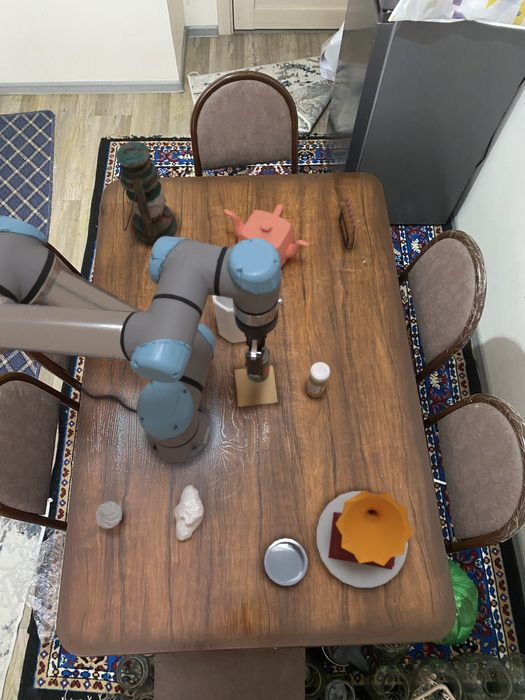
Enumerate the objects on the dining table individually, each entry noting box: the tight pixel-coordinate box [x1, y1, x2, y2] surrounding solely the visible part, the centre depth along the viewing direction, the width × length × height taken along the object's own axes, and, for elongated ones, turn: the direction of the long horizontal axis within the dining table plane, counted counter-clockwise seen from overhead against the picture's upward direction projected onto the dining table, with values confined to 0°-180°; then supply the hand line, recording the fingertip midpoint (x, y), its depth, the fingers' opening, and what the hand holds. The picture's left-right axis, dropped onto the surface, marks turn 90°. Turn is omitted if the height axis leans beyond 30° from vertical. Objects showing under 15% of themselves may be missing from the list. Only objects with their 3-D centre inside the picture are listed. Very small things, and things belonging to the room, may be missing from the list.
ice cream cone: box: [94, 500, 123, 529], centre depth 112 cm, size 6×6×15 cm
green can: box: [244, 345, 271, 383], centre depth 110 cm, size 5×5×12 cm
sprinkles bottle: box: [305, 361, 331, 398], centre depth 125 cm, size 5×5×14 cm
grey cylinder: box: [263, 538, 309, 587], centre depth 113 cm, size 9×9×6 cm
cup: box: [211, 295, 246, 344], centre depth 130 cm, size 11×11×18 cm
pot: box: [223, 203, 310, 269], centre depth 142 cm, size 18×17×12 cm
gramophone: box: [315, 489, 414, 589], centre depth 106 cm, size 20×20×25 cm
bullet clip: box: [338, 193, 358, 250], centre depth 145 cm, size 11×2×12 cm, turn 8°
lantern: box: [115, 141, 178, 246], centre depth 137 cm, size 19×14×30 cm
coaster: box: [233, 364, 279, 408], centre depth 132 cm, size 10×10×1 cm
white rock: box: [173, 484, 205, 541], centre depth 115 cm, size 12×8×11 cm
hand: (257, 359), depth 108 cm, fingers closed on green can, 5 cm apart
